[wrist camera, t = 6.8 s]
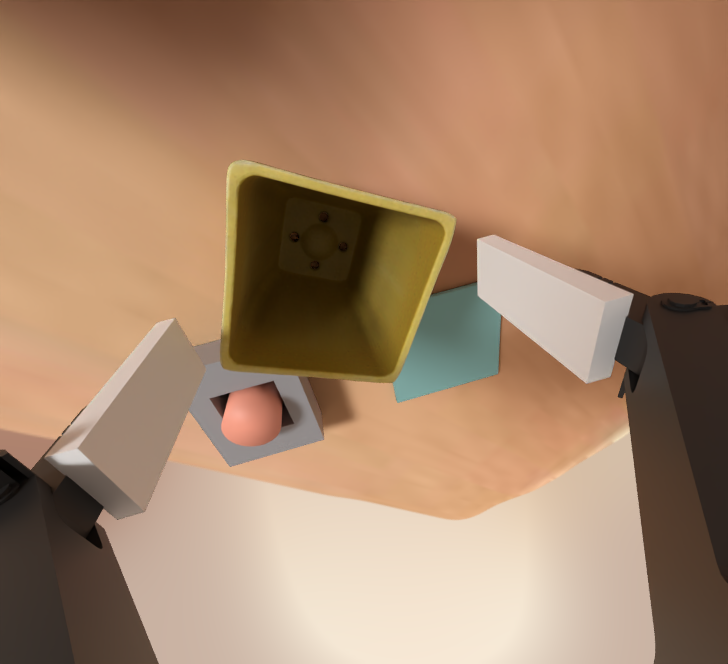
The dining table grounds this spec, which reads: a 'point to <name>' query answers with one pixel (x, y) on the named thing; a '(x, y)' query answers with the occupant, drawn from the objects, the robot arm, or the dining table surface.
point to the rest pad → (451, 344)
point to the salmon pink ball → (253, 415)
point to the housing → (218, 383)
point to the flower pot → (324, 276)
